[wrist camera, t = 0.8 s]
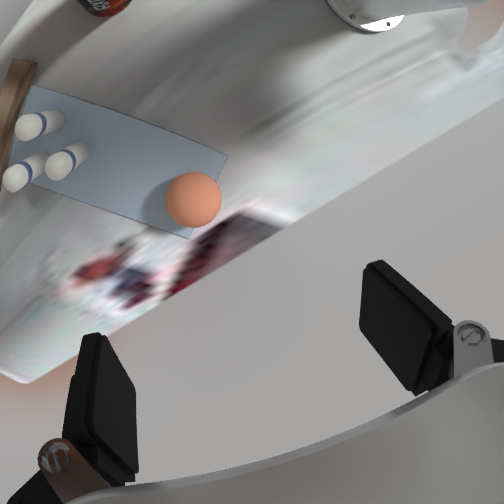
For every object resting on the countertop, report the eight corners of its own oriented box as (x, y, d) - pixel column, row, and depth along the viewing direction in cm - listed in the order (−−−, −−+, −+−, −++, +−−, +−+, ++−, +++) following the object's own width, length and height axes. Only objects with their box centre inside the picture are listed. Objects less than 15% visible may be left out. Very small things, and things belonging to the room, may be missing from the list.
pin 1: (50, 106, 27) (19, 111, 20) (68, 112, 28) (40, 117, 21) (43, 127, 28) (11, 137, 21) (61, 133, 29) (32, 144, 22)
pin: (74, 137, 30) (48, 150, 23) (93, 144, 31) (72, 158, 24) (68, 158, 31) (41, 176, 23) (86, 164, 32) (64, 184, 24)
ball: (178, 158, 34) (179, 170, 29) (225, 178, 37) (235, 192, 32) (158, 206, 36) (156, 225, 31) (204, 222, 39) (210, 244, 33)
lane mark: (32, 85, 26) (31, 85, 25) (227, 155, 35) (227, 155, 35) (6, 173, 29) (6, 174, 29) (189, 238, 39) (189, 238, 39)
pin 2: (37, 147, 29) (5, 163, 22) (54, 153, 30) (25, 170, 23) (32, 167, 30) (0, 188, 23) (49, 174, 31) (20, 196, 24)
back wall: (24, 60, 24) (13, 58, 21) (37, 63, 25) (26, 61, 22) (-12, 187, 29) (-23, 194, 26) (0, 191, 30) (-11, 199, 27)
